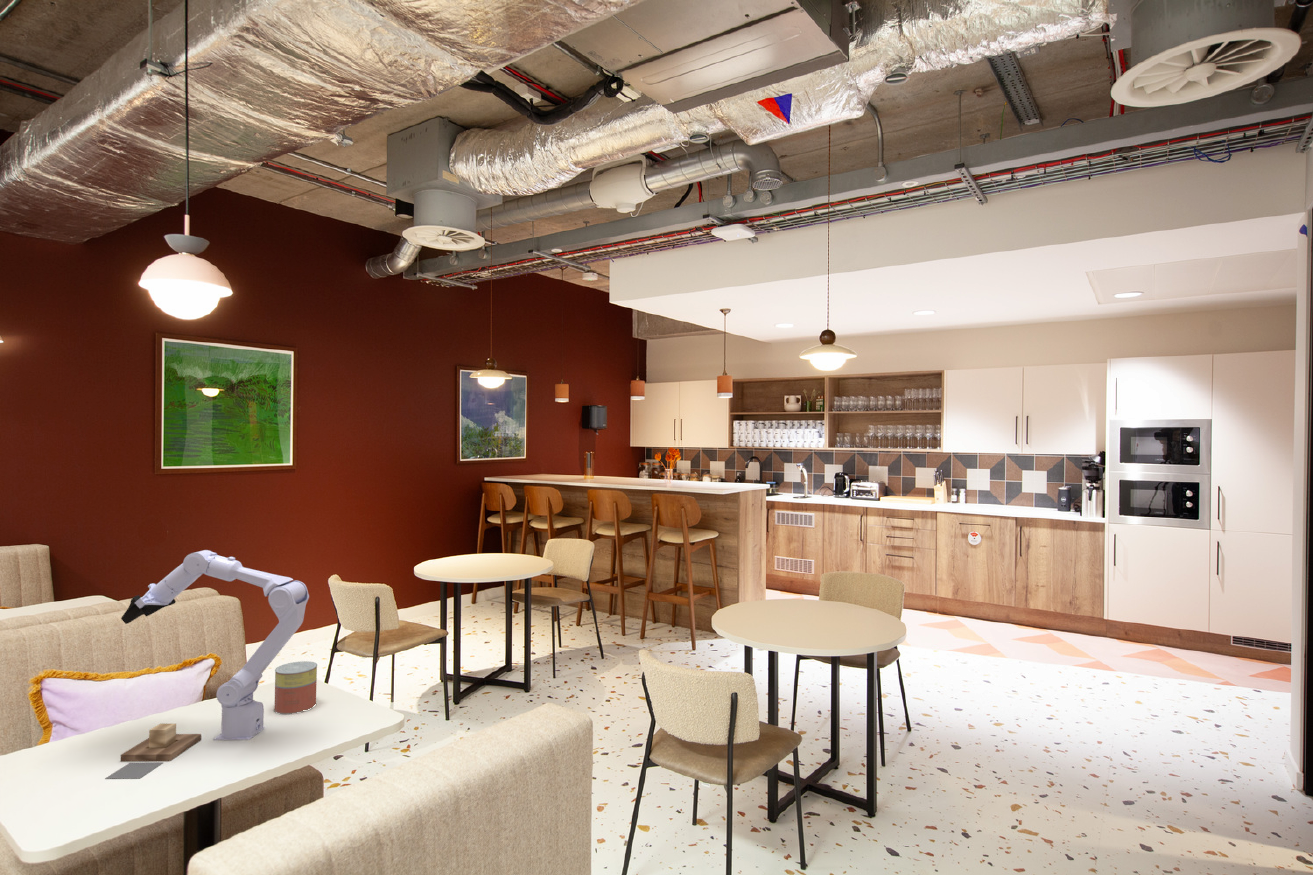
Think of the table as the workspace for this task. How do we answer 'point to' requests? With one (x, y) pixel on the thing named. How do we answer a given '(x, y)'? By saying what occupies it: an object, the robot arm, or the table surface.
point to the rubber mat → (134, 770)
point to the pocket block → (161, 749)
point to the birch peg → (162, 736)
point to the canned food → (295, 687)
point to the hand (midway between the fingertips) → (134, 617)
